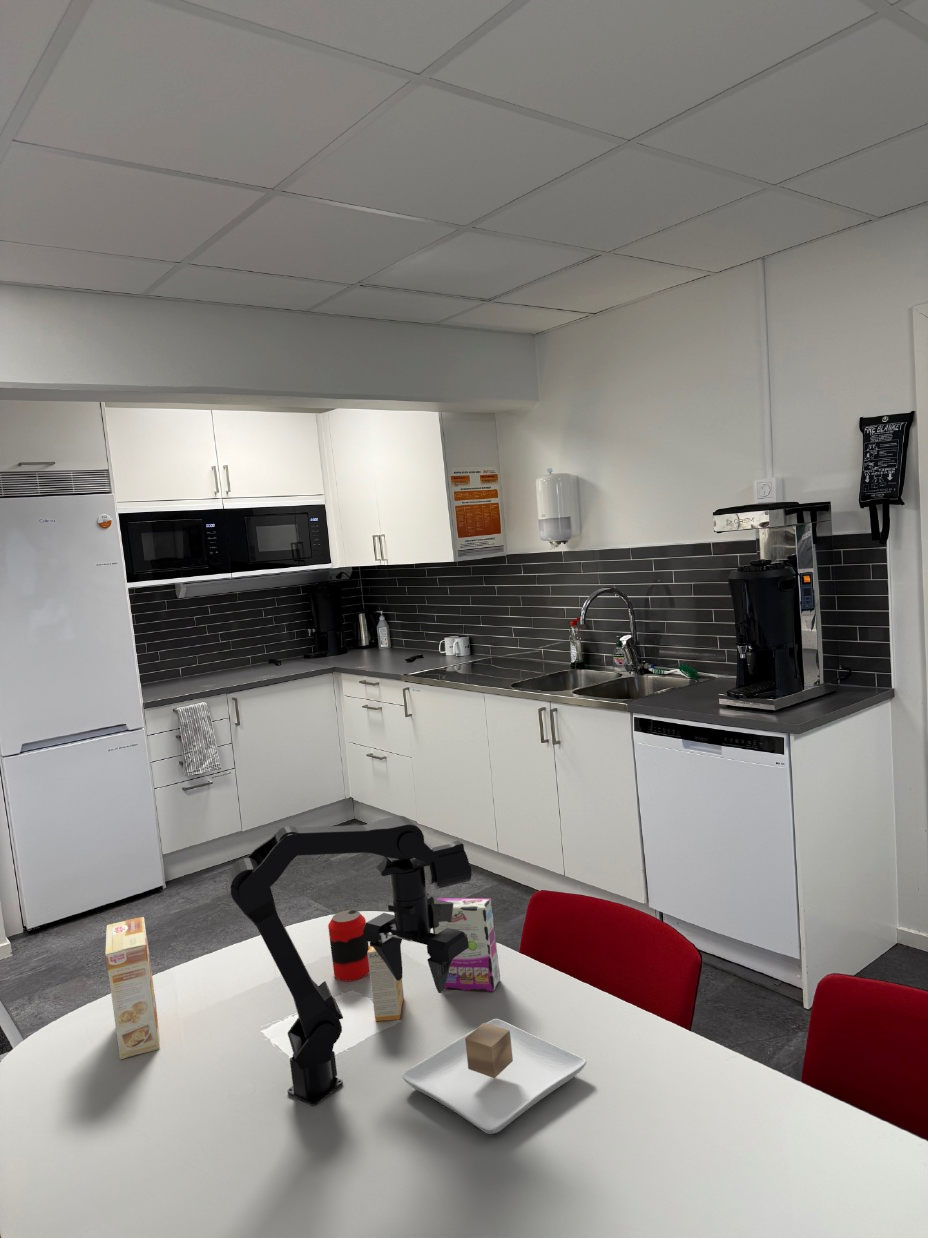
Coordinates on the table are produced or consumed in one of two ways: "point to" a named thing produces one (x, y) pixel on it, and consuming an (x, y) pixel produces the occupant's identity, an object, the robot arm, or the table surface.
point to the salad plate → (495, 1079)
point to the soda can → (348, 946)
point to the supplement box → (384, 988)
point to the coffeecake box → (132, 987)
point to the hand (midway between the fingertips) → (420, 985)
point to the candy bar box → (473, 946)
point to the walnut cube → (489, 1050)
